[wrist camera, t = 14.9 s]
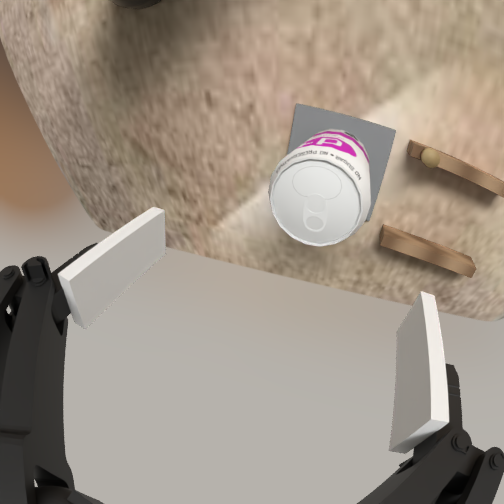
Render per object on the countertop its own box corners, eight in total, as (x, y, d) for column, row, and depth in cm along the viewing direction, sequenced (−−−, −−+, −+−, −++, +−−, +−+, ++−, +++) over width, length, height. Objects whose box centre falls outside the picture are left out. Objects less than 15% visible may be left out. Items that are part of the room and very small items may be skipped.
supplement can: (302, 126, 33) (261, 146, 21) (371, 132, 30) (376, 156, 18) (301, 189, 37) (263, 244, 25) (366, 197, 34) (362, 260, 22)
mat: (280, 193, 38) (279, 194, 38) (297, 103, 32) (296, 103, 31) (369, 219, 36) (369, 221, 35) (395, 130, 29) (395, 130, 29)
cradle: (379, 234, 36) (380, 251, 32) (410, 137, 29) (417, 143, 25) (466, 265, 33) (473, 284, 29) (503, 179, 26) (518, 191, 22)
